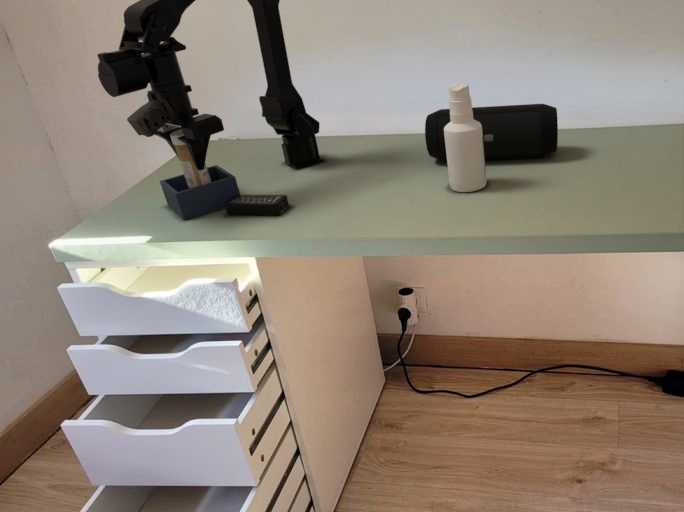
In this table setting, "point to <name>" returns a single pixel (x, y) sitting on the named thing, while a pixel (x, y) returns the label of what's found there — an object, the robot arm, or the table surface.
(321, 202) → the table surface
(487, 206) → the table surface
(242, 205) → the multiport hub
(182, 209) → the tub
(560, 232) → the table surface
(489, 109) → the portable speaker
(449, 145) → the spray bottle
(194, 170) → the sprinkles bottle
